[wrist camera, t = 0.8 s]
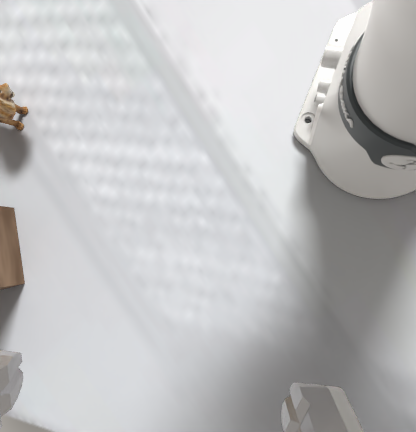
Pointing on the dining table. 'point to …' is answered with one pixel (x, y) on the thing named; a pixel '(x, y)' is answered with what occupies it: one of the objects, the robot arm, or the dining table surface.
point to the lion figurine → (9, 107)
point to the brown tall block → (9, 250)
